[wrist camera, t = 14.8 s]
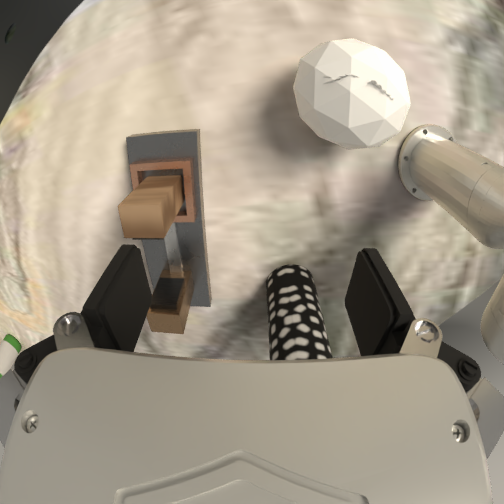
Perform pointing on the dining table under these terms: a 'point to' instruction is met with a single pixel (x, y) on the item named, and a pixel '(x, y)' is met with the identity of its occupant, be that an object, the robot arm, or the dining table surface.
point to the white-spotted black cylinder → (295, 316)
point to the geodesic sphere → (351, 93)
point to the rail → (174, 228)
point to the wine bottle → (8, 353)
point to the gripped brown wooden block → (151, 207)
